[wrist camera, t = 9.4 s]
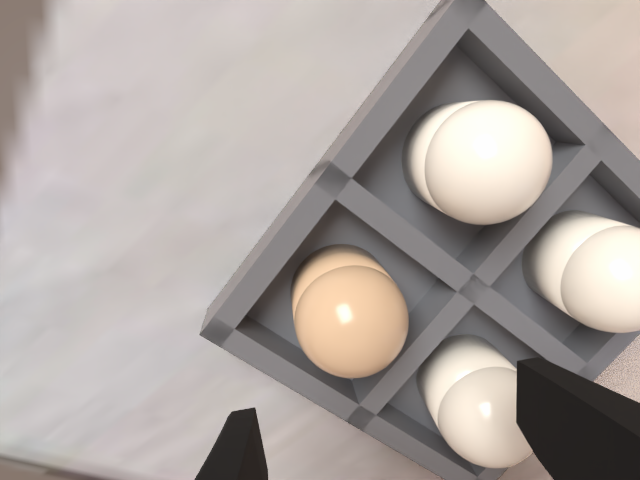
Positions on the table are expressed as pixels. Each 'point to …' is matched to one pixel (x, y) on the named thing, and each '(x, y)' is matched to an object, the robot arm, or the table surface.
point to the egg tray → (432, 236)
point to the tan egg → (348, 311)
